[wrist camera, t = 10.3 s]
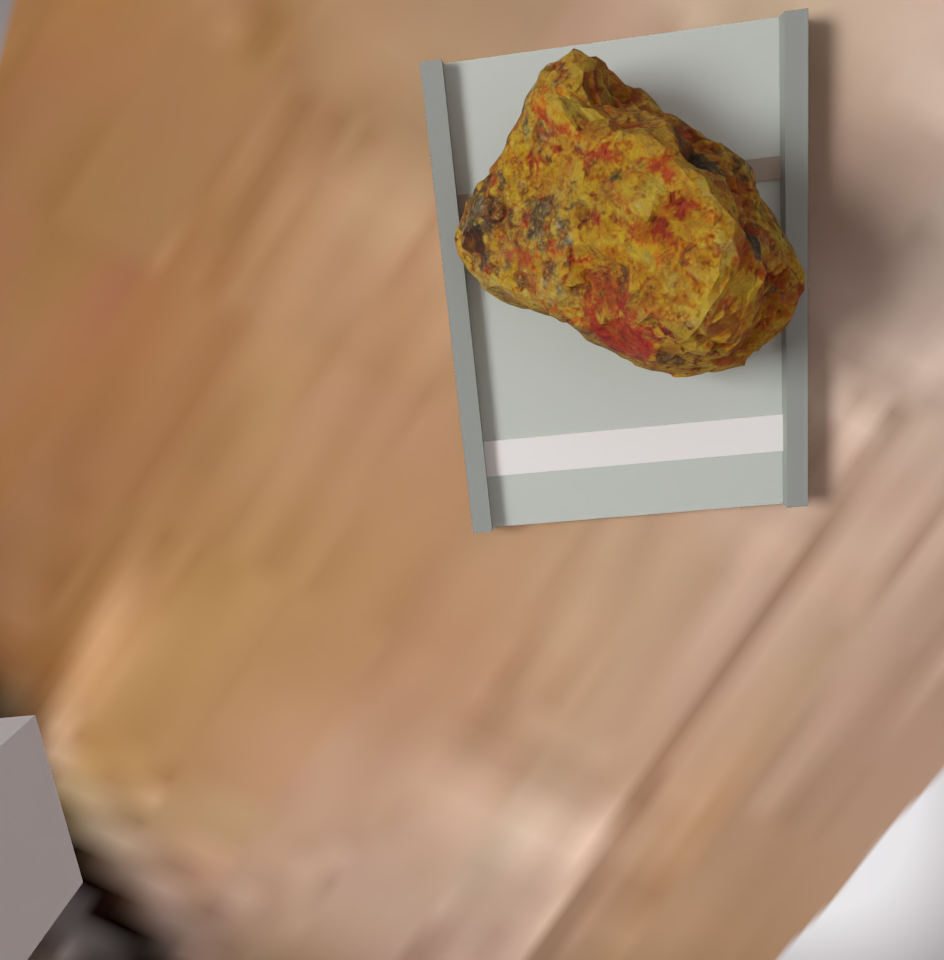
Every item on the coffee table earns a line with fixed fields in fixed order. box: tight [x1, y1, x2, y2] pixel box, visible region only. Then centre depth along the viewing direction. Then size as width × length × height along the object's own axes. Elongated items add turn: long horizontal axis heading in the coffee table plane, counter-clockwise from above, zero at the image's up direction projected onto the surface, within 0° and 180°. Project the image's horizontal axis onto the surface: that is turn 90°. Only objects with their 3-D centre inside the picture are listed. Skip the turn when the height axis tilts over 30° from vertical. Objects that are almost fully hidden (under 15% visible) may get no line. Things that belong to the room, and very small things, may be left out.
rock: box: [454, 48, 806, 377], centre depth 27 cm, size 11×8×10 cm
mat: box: [420, 8, 808, 533], centre depth 30 cm, size 14×18×1 cm
